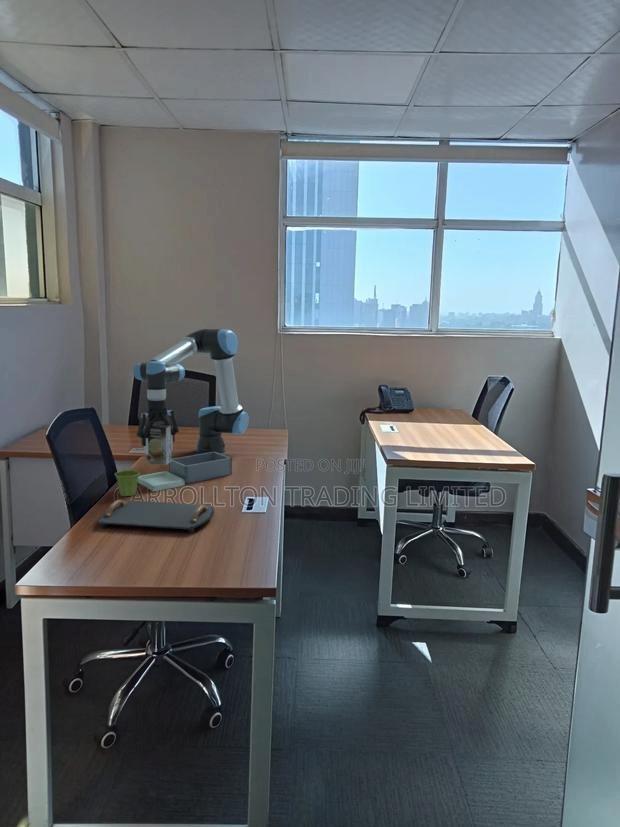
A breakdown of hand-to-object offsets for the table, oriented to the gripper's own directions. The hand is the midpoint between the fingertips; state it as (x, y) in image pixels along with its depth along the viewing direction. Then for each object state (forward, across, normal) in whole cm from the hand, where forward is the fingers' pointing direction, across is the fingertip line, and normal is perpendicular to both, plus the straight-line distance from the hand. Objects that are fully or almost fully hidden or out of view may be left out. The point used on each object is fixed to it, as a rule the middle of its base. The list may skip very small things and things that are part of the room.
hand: (158, 451), depth 238 cm
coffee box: (+5, 0, 0) cm, 5 cm away
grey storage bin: (+14, -20, -1) cm, 25 cm away
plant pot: (+14, +16, +5) cm, 22 cm away
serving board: (+15, +19, +38) cm, 45 cm away
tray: (+14, 0, 0) cm, 14 cm away
